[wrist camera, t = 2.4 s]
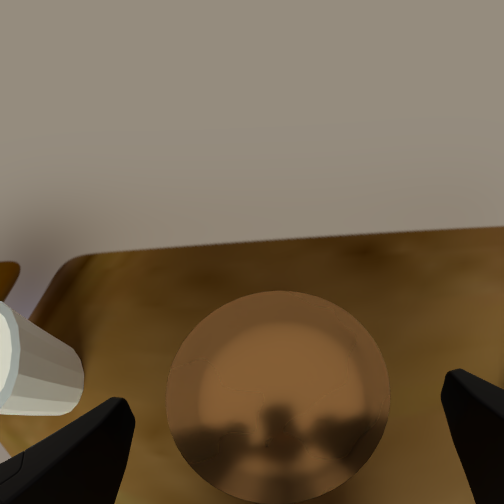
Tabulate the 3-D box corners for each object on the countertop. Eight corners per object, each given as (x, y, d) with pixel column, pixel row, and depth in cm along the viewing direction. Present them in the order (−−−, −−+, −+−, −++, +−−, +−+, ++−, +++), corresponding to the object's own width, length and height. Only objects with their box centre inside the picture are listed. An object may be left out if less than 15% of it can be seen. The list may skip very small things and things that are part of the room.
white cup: (63, 442, 16) (-11, 437, 10) (16, 382, 18) (-49, 360, 12) (107, 370, 18) (35, 344, 12) (54, 317, 21) (-9, 280, 15)
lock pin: (298, 475, 14) (295, 586, 3) (216, 412, 16) (78, 401, 6) (365, 392, 16) (480, 349, 5) (282, 335, 18) (253, 205, 7)
